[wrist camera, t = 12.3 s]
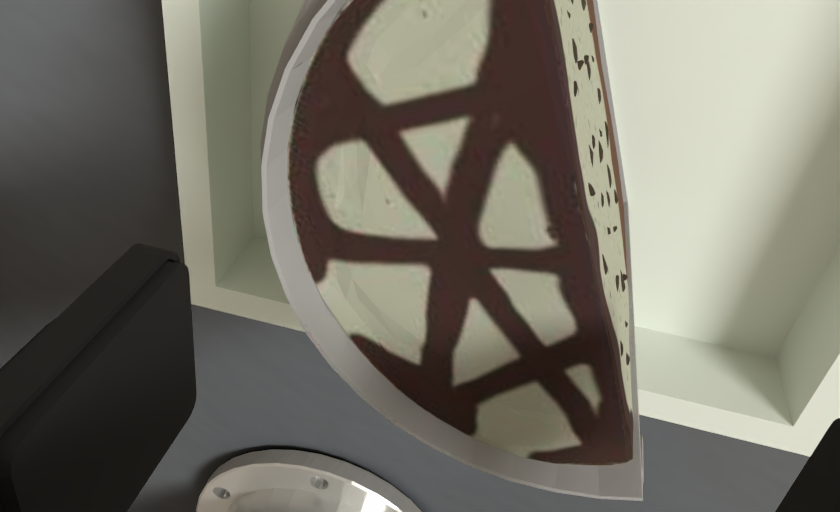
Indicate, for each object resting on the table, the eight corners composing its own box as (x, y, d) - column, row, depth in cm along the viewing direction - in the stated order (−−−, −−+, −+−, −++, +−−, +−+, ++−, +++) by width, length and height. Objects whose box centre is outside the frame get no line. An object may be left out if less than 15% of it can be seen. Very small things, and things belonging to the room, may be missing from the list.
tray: (787, 366, 25) (813, 457, 21) (239, 238, 27) (188, 303, 24) (1166, -284, 14) (1329, -298, 11) (218, -407, 16) (121, -449, 13)
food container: (321, -132, 18) (90, -49, 10) (565, -211, 16) (517, -186, 8) (446, 267, 24) (362, 517, 16) (634, 245, 22) (646, 518, 14)
